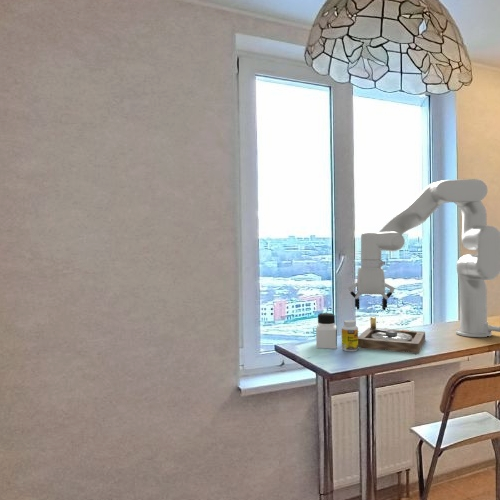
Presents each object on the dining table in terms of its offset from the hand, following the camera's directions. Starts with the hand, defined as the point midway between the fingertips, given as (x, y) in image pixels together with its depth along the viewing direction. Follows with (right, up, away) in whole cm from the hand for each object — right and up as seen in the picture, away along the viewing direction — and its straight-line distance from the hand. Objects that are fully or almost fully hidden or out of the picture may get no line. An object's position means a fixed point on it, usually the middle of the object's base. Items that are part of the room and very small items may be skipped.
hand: (370, 309), depth 167 cm
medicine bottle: (-18, -13, -8) cm, 24 cm away
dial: (+5, -10, -6) cm, 13 cm away
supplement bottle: (-11, -13, -14) cm, 22 cm away
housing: (+6, -12, -7) cm, 15 cm away
